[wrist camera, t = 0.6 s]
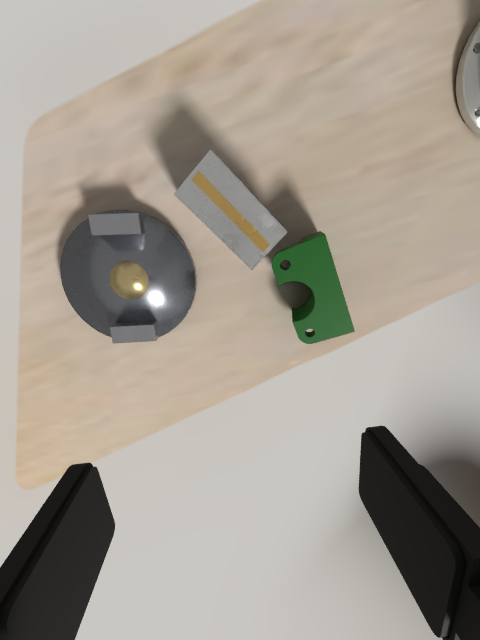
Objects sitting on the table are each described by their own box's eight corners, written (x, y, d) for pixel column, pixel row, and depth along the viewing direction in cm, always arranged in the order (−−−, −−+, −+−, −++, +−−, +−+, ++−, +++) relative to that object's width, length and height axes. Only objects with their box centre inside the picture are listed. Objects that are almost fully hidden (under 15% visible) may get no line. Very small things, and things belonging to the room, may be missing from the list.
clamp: (277, 260, 36) (262, 241, 28) (320, 243, 34) (319, 217, 26) (304, 343, 35) (298, 350, 26) (350, 329, 33) (360, 333, 25)
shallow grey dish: (54, 213, 29) (35, 210, 26) (190, 209, 30) (187, 206, 27) (83, 340, 33) (69, 349, 30) (201, 333, 34) (199, 342, 31)
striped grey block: (213, 167, 29) (210, 148, 23) (275, 233, 31) (288, 232, 25) (183, 203, 29) (173, 193, 24) (246, 264, 32) (252, 270, 26)
